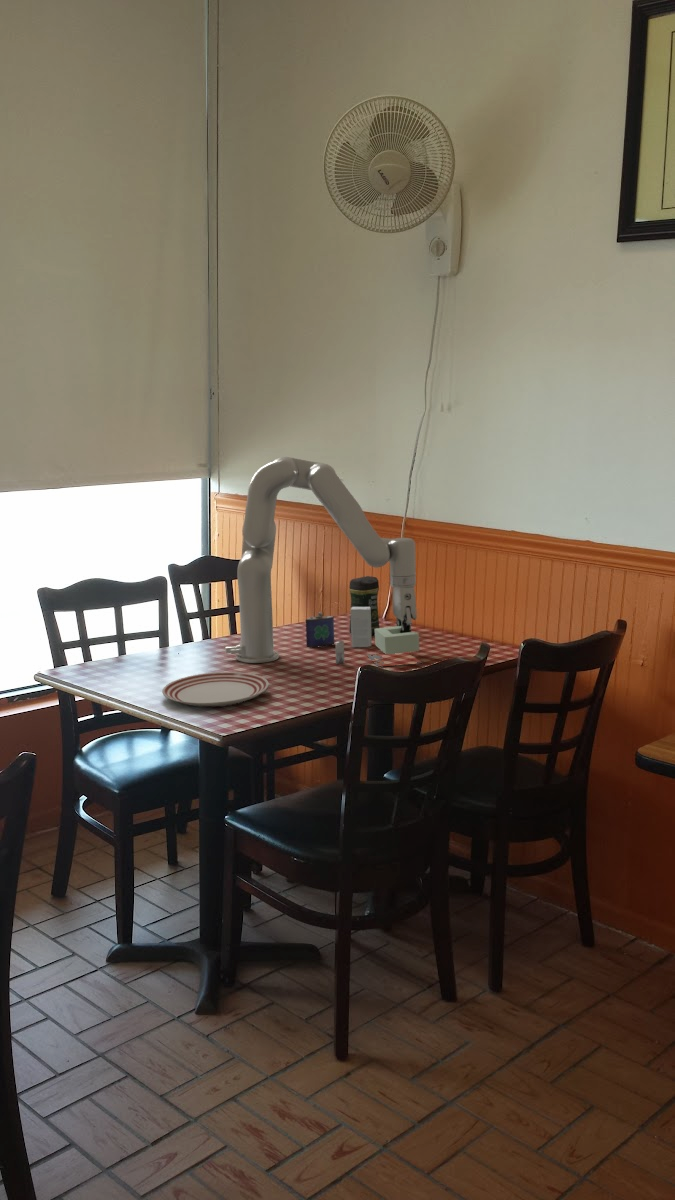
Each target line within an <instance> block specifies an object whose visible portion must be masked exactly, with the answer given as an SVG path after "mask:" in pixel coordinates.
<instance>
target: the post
mask: <svg viewBox="0 0 675 1200" xmlns="http://www.w3.org/2000/svg"><path fill="white" fill-rule="evenodd" d="M334 642H335V643H334V645H335V646H334V647H335V664H336V665H337V664H343V665H345V643H344V641H343V640H337V641H334Z"/></svg>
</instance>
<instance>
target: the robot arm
mask: <svg viewBox="0 0 675 1200" xmlns="http://www.w3.org/2000/svg"><path fill="white" fill-rule="evenodd" d="M290 487H292V488H297V489H302V490H307V491H312V493H313V494H314V495H315V497H316V498H317V499H318V501H319V502H320V503H321V505H322V506H323V507H324V509H325V510H326V511H327V513H328V514H329V515H330V517H331V518H332V519H333V520H334V522H335V524H336V525H337V527H338V528H339V529H340V530H341V532H343V534H344V535H345V536H346V538H347V539H348V540H349V542H350V543H351V544H352V546H353V547H354V548H355V549H356V551H357V552H358V554H359V555H360V556H361V557H362V559H363V560H364V562H365V563H367V565H369V566H370V567H372V568H381V567H384V566H385V565H387V563H388V562H389V586H390V587H391V588H392V613H393V616H394V617H396V626H401V630H400V633H407V632H412V624H413V623H412V621H413V620H414V621H416V620H417V618H418V615H417V597H416V590H415V586H417V577H416V576H417V572H416V567H417V566H416V542H415V540H414V539H413V538H410V537H396V538H387V537H386V538H385V537H380V536H379V534H378V532H377V531H376V530H375V528H374V527H373V526H372V524H371V523H370V521H369V520H368V519H367V517H366V515H365V513H364V510H363V508H362V507H361V505H360V504H359V502H358V500H356V498H355V497H354V495H352V493H351V492H350V490H349V489H348V488H347V486H346V484H344V483H343V481H342V480H341V478H340V477H339V476H338V474H337V473H336V471H335V469H334V467H332V466H331V465H329V464H328V463H324V462H316V461H310V460H306V459H305V460H304V459H301V458H300V459H299V458H294V457H289V456H279V457H277V458H276V459H274V460H273V461H271V462H268V463H266V464H265V465H263V466H262V467H260V468H259V469H258V470H257V471H255V473H254V475H253V476H252V478H251V480H250V483H249V486H248V489H247V490H248V491H247V496H246V503H245V504H246V505H245V512H244V521H243V526H242V547H241V555H240V556H241V557H240V559H239V562H238V565H237V571H236V572H237V573H236V574H237V575H236V576H237V587H238V588H237V589H238V603H239V604H238V606H239V620H240V621H239V624H240V626H239V627H240V642H238V644H237V645H235V646H225V647H224V648H225V649H224V650H225V651H224V652H225V654H230V655H235V654H236V657H235V658H236V660H237V661H238V662H241V663H245V664H246V663H247V664H262V663H269V662H274V661H276V660H278V659H279V658H280V653H279V652H278V651H276V650H274V626H273V625H274V624H273V623H274V622H273V621H274V619H273V601H272V600H273V598H272V580H271V579H272V569H273V564H274V563H273V562H274V552H275V544H276V543H275V542H276V535H277V525H276V522H275V515H276V507H277V498H278V495H279V493H280V492H281V490H283V489H286V488H290Z"/></svg>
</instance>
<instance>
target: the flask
mask: <svg viewBox="0 0 675 1200" xmlns="http://www.w3.org/2000/svg"><path fill="white" fill-rule="evenodd" d="M323 614H324V613H323V612H322V611H319V612H318V615H316V616H310V617H308V618H305V636H306V637H305V639H306V640H305V641H306V648H307V647H316V648H319V647H318V646H322V647H327V646H326V645H331V646H333V645H332V644H334V645H335V642H336V641H335V619H334V618H335V617H334V616H333V615H327V616H324V615H323Z"/></svg>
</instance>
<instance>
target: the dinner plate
mask: <svg viewBox="0 0 675 1200" xmlns="http://www.w3.org/2000/svg"><path fill="white" fill-rule="evenodd" d="M269 686H270V685H269V681H268V679H266V678H265V677H263V676H260V675H257V674H253V673H248V672H247V673H246V672H239V671H236V672H235V671H214V672H204V673H198V674H193V675H190V676H185V677H181V678H177V679H175V680H172V681H171V682H170V683H167V684H166V685H165V686H164V687H163V688H162V691H161V692H162V695H163V696H164V697H165V698H166V699H168V700H171V701H174V702H177V703H179V704H184V705H188V706H192V705H194V706H193V707H199V706H221V707H226V706H225V705H229V706H233V705H232V704H234V705H237V704H236V703H238V704H241V703H243V701H244V702H246V701H249V700H251V699H254V698H256V697H258V696H259V695H261V694H263V693H264V692H265V691H266V690H267V689H268V688H269ZM240 702H241V703H240Z"/></svg>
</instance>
